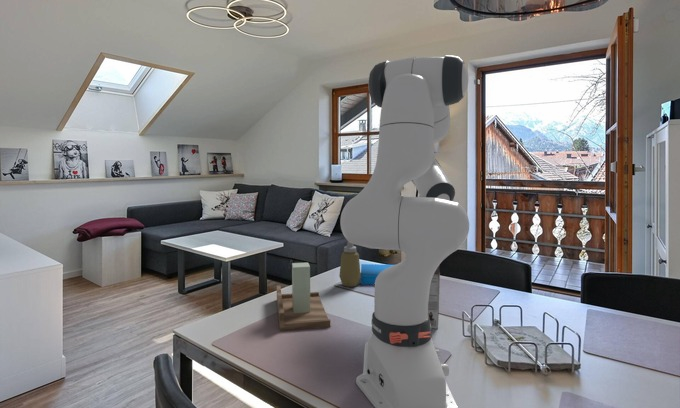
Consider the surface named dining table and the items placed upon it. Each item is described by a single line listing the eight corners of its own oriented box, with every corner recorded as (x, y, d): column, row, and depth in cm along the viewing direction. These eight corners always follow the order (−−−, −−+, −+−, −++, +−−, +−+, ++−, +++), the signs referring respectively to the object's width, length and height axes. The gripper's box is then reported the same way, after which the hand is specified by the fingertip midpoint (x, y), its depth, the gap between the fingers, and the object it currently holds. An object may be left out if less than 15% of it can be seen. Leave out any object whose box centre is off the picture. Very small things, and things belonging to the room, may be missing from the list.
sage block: (310, 312, 121) (310, 266, 119) (293, 313, 120) (293, 267, 118) (308, 306, 126) (308, 262, 124) (292, 307, 125) (292, 263, 123)
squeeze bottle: (347, 280, 156) (347, 234, 154) (364, 284, 151) (365, 237, 149) (334, 285, 149) (334, 237, 147) (352, 289, 145) (353, 240, 143)
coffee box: (415, 315, 121) (417, 262, 119) (437, 316, 120) (439, 264, 118) (415, 327, 112) (416, 271, 110) (438, 329, 111) (440, 272, 109)
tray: (330, 326, 112) (330, 309, 112) (279, 330, 110) (279, 313, 109) (318, 297, 137) (318, 282, 136) (276, 299, 134) (276, 285, 133)
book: (360, 264, 167) (421, 264, 165) (360, 274, 167) (421, 274, 166) (360, 275, 150) (428, 276, 148) (360, 286, 150) (428, 287, 149)
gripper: (394, 200, 134) (353, 200, 131) (416, 207, 114) (369, 208, 111) (393, 218, 134) (353, 219, 132) (416, 229, 114) (369, 230, 112)
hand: (360, 214), depth 121 cm, fingers open, 8 cm apart
